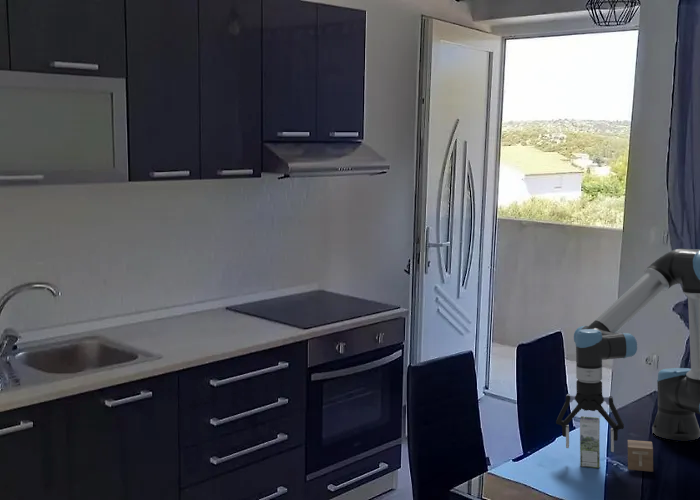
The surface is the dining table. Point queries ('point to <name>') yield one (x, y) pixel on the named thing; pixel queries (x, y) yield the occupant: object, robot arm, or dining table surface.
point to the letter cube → (640, 455)
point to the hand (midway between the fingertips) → (589, 448)
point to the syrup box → (590, 442)
